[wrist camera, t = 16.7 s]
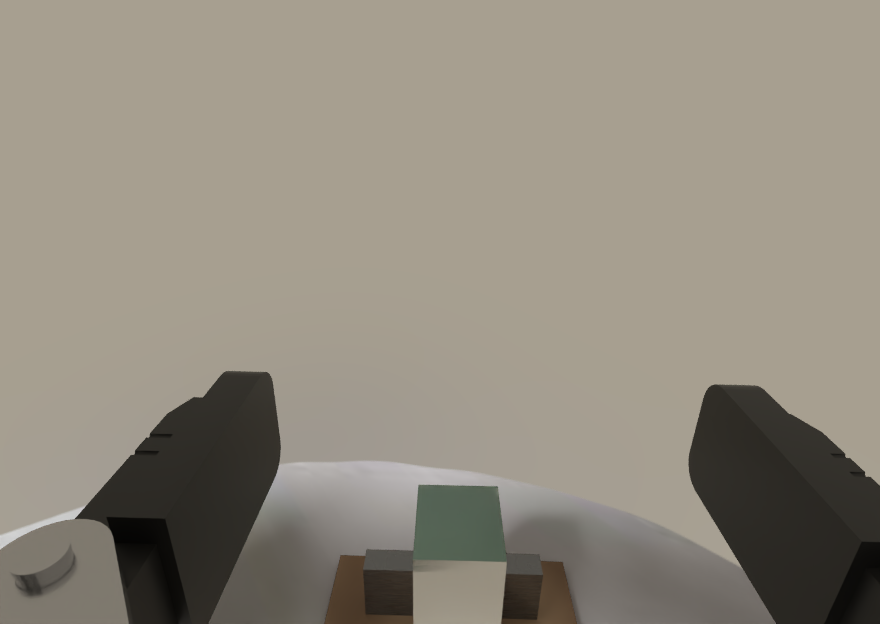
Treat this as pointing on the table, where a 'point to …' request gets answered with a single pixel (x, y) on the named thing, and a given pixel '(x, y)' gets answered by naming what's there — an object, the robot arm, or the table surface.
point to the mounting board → (351, 620)
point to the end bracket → (394, 584)
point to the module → (458, 556)
